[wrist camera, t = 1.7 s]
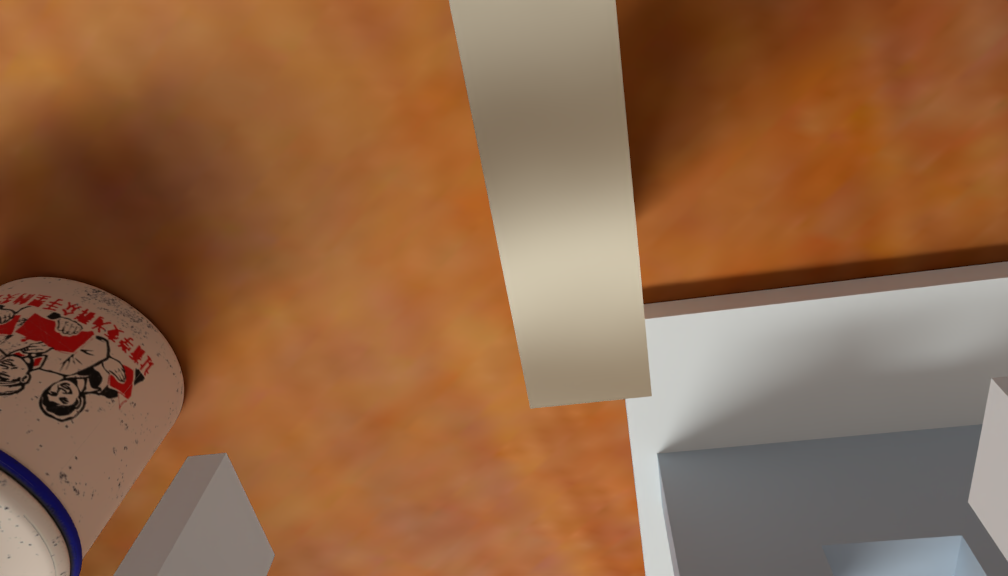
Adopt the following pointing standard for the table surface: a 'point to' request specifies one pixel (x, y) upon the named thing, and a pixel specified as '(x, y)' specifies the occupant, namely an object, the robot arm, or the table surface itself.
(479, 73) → the beige arch-shaped block
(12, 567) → the teacup with lid
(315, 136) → the table surface
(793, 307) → the slotted stand
